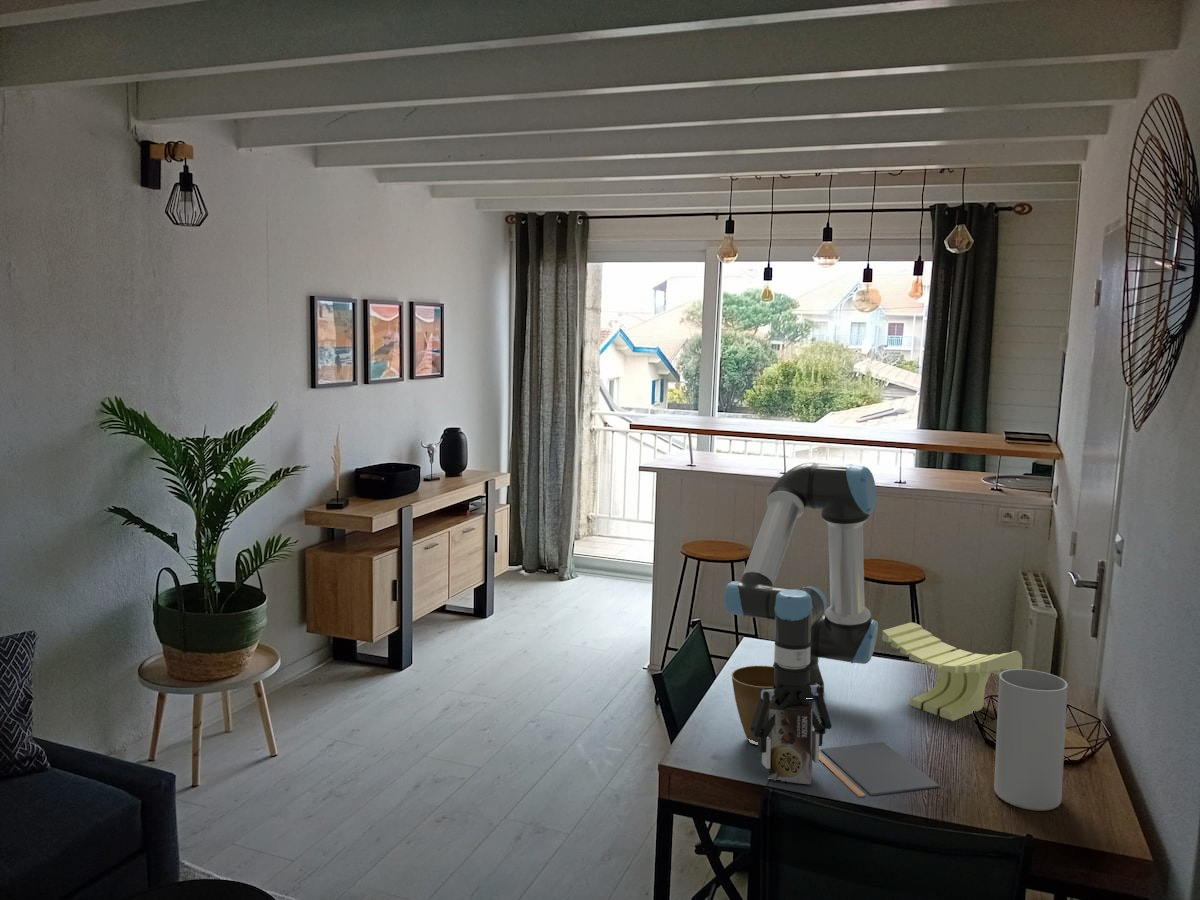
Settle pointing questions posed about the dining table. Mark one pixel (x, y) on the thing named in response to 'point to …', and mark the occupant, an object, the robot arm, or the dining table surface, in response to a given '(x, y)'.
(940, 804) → the dining table surface
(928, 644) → the slatted curved stool
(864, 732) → the dining table surface
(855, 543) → the robot arm
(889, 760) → the mat
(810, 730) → the coffee box
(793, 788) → the dining table surface
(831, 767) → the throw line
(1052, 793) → the cylinder vase
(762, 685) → the plant pot
